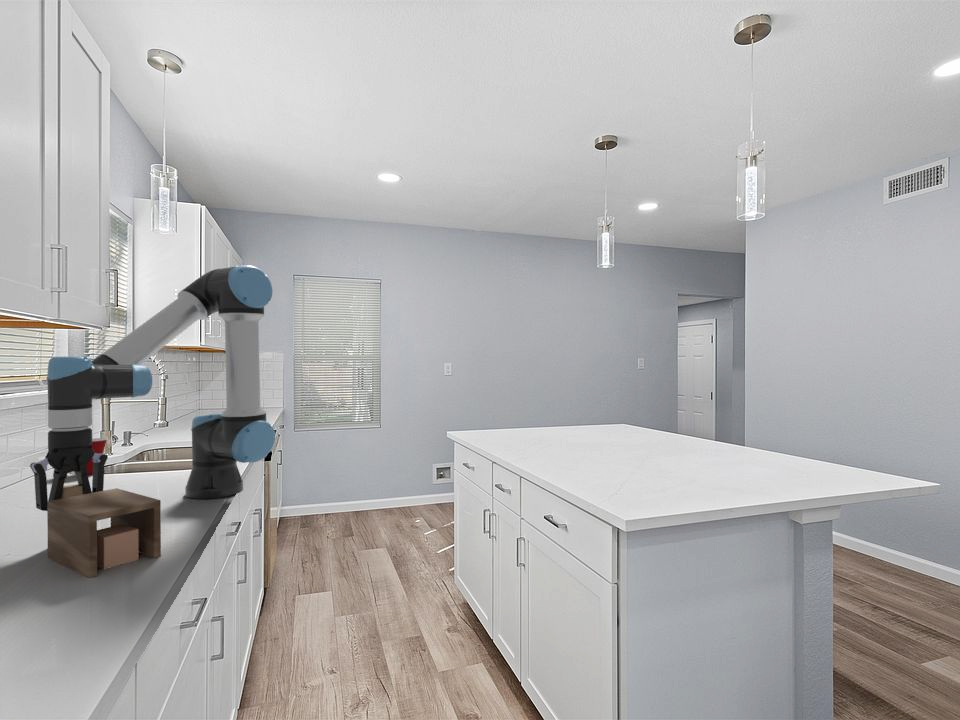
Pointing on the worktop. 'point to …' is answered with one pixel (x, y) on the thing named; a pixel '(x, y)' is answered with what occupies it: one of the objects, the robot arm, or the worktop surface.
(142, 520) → the shelf lane
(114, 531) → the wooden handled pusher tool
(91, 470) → the plastic cup
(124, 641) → the worktop surface
